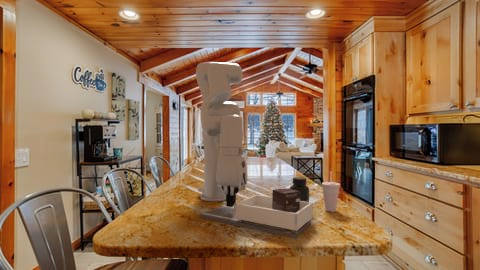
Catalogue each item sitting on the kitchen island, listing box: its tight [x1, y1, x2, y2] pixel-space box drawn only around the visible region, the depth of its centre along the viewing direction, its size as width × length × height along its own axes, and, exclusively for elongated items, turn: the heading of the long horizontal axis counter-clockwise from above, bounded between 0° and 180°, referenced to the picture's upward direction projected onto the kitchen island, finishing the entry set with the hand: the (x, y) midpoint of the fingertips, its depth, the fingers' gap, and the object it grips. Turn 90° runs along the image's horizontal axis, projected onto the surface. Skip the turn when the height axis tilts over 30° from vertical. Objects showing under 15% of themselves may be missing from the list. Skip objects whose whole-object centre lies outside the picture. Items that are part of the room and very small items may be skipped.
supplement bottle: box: [289, 176, 310, 202], centre depth 100 cm, size 7×7×12 cm
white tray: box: [233, 194, 314, 231], centre depth 86 cm, size 20×14×5 cm
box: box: [271, 187, 300, 213], centre depth 85 cm, size 6×6×7 cm
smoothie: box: [321, 171, 341, 212], centre depth 102 cm, size 6×6×14 cm
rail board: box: [199, 204, 312, 239], centre depth 90 cm, size 33×14×1 cm, turn 58°
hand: (230, 205), depth 95 cm, fingers closed
